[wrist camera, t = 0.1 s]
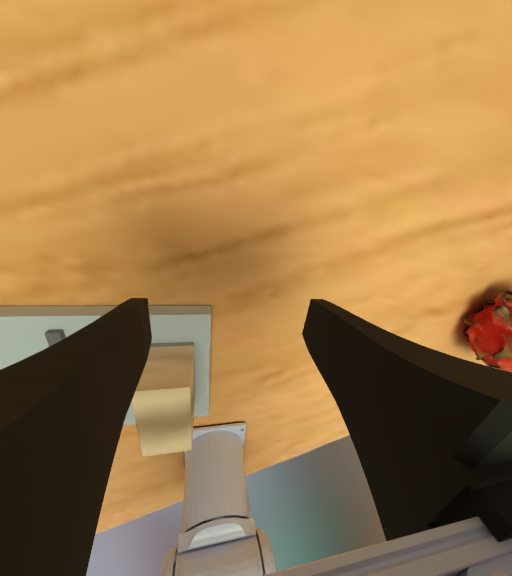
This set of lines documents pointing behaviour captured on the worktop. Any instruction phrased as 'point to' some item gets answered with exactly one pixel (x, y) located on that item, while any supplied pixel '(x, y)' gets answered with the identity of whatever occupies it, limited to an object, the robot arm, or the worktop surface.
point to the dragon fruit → (492, 333)
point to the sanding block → (166, 399)
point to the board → (38, 319)
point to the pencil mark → (54, 336)
